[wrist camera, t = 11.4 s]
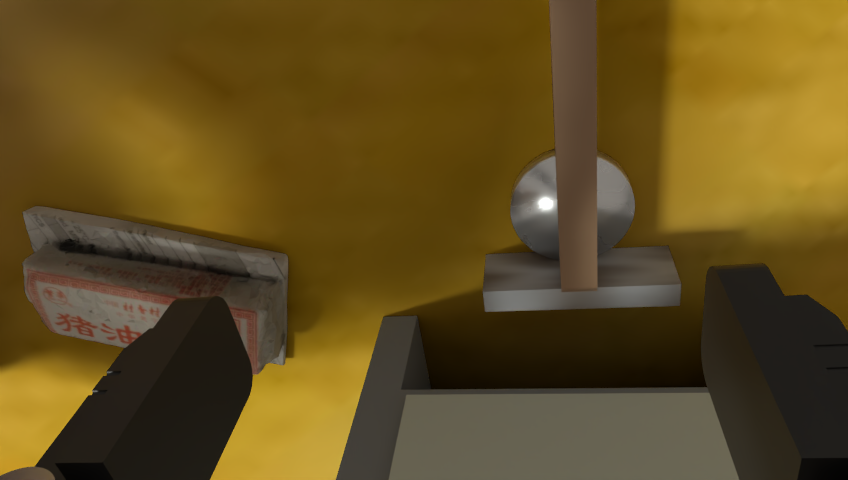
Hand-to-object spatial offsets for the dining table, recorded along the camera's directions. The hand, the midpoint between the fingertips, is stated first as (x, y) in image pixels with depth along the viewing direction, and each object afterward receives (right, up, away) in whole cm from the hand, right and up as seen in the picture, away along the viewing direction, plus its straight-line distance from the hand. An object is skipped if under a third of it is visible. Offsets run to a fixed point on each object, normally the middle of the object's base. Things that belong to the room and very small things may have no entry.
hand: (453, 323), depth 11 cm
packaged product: (-19, -1, +36) cm, 40 cm away
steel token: (+8, +4, +28) cm, 29 cm away
